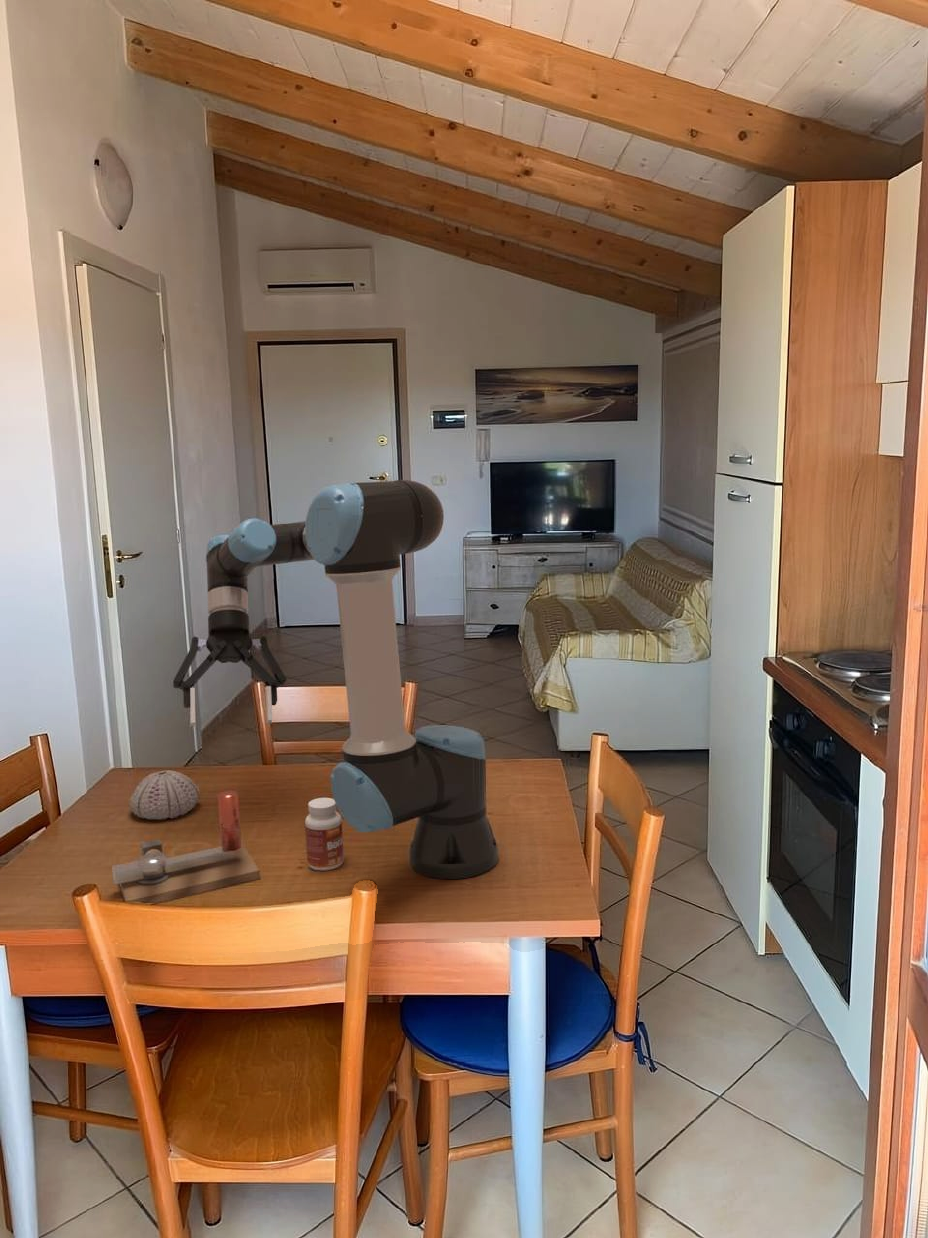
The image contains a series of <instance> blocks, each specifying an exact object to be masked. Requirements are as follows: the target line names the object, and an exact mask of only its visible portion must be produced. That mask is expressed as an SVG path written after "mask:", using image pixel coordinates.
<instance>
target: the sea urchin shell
mask: <svg viewBox="0 0 928 1238" xmlns="http://www.w3.org/2000/svg"><path fill="white" fill-rule="evenodd" d="M135 787H136V788H135V790H134V791H133V793H132V795H131V796H130V798H129V803H128V804H129V808H130V810H131V813H133V814H134V816H137V818H141V819H147V820H153V821H155V820H159V821H162V820H166V819H174V818H177V817H178V816H184V815H185V814H188V812H190V811H192V809H193V808H196V804H198V803H199V802H198V801H199V800H200V799H201V797H200V796H201V793H200V792H201V790H200V789H199V786H197V783H195V782H194V780H192V779H191V777H188V775H186V774H183V773H181V772H178V771H175V770H168V769H167V770H161V771H156V772H152V773H150V774H148V775H147V776H145V777H144V778H142V780H141V781H140V782H139V783H138V785H136V786H135Z"/></svg>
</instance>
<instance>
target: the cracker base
mask: <svg viewBox="0 0 928 1238" xmlns="http://www.w3.org/2000/svg"><path fill="white" fill-rule="evenodd" d="M140 845H141V856H143V855H145V854H148V853H154V852H159V853H163V846H162V845H163V844H162V842H161V839H160V838H156V839H153V840H147V841H142V842H140ZM241 845H242V846H241V848H240V849H238V850H235V851H234V858H230V859H226V860H221V861H217V862H212V863H208V864H203V865H199V866H194V867H190V868H185V869H181V870H177V871H172V872H168V873H165V874H164V875H162V876H160V877H157V878H152V879H144V878H143V879H139V880H134V881H130V882H125V883H121V884H119V887H121V888H120V890H121V895H122V897H123V900H124V902H125V901H126V902H141V903H155V904H159V903H163V902H167V901H173V900H176V899H180V898H184V897H188V896H193V895H197V894H201V893H206V892H209V891H214V890H218V889H221V888H226V887H231V886H235V885H240V884H243V883H247V882H252V881H256V880H260V879H261V872H260V871H261V870H260V869H259V867H258V865H256V863H255V861H254V860H253V858H252V857H251V855H250V853H249V852H248V850H247V849H246V847H245V845H244V844H243V843H241Z"/></svg>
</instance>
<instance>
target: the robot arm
mask: <svg viewBox="0 0 928 1238" xmlns="http://www.w3.org/2000/svg"><path fill="white" fill-rule="evenodd" d="M444 514H445V513H444V509H443V505H442V502H441V500H440V499H439V497H438V496H437V494H436V493H435V492H434V491H433V490H432V489H431V488H429V486H427V485H425V484H424V483H421V482H418V481H414V480H408V479H398V480H387V481H385V480H384V481H371V482H367V481H366V482H347V483H340V484H334V485H329V486H326V487H323V488H322V489H320V490H319V491H318V492H317V493H316V494H315V496H314V497H313V499H312V502H311V503H310V504H309V506H308V509H307V513H306V518H305V520H304V521H297V522H291V523H277V524H269V523H268V522H267V521H264V520H262V519H260V518H249V519H245V520H244V521H242V522H241V523H240V524H239V525H238V526H236V527H235V528H234V529H233V530H232V531H231V533H230V534H221V535H217V536H216V537H212V538H211V539H210V540H208V543H207V547H206V556H205V561H206V579H207V582H206V583H207V613H208V615H209V616H207V621H208V622H207V626H208V627H207V629H208V630H207V632H208V635H207V638H206V639H202V638H200V639H199V637H197V636H193V637H192V638H191V643H190V645H191V646H190V649H189V650H188V652H187V654H186V656H185V657H184V660H183V662H182V664H181V665H180V666H179V669H178V671H177V673H176V675H175V677H174V678H173V680H172V687H173V688H174V689H180V690H181V691H182V692H183V700H182V701H183V707H184V709H186V708H187V709H189V719H190V720H189V721H190V723H189V726H190V727H195V726H196V688H195V687H194V686H195V685H196V684H197V683H198V681H199V680H200V679H201V678H202V677H203V676H204V675H205V673H206V672H207V671H208V670H209V669H210V668H211V667H212V666H213V665H214V664H215V663H216V662H217V661H218V662H219V663H221V664H225V663H234V664H238V663H239V662H242V663H243V664H244V665H245V666H247V667H248V668H249V670H251V671H252V672H253V673H254V674H255V675H256V676H257V677H258V678H259V679H260V680H261V681H262V682H263V684H265V685H266V687H265V690H264V691H265V692H264V694H265V714H266V715H265V716H266V717H265V719H266V721H265V722H266V724H267V725H271V724H272V721H273V708H272V707H273V706H276V705H277V702H278V688H279V687H283V686H285V684H286V682H287V677H286V675H285V674H284V671H282V668H281V667H280V665H279V664H278V662H277V660H276V658H275V657H274V655H273V653H272V652H271V649H270V648H269V646H268V639H267V637H266V636H261V637H260V638H256V639H255V638H254V639H253V638H251V634H250V616H249V615H248V613H249V612H250V611H249V590H248V583H249V582H248V576H249V575H250V574H251V573H252V572H254V570H255V569H257V568H258V567H262V566H263V567H265V566H271V565H272V566H273V565H282V564H289V563H295V562H305V561H316V562H317V563H319V564H321V565H323V566H324V574H325V576H326V577H327V578H328V579H330V581H332V582H333V583H334V585H335V586H336V594H337V604H338V605H337V606H338V615H339V617H338V618H339V625H340V636H341V638H340V639H341V647H342V656H343V668H344V676H345V677H344V678H345V679H344V680H345V688H346V689H345V690H346V698H347V706H348V707H347V708H348V718H349V719H348V720H349V729H350V737H349V738H348V739H347V740H346V741H345V742H344V744H342V747H341V748H342V758H343V761H342V762H339V763H337V765H335V766H334V767H333V769H332V773H331V774H330V790H331V794H332V797H333V798H332V799H334V800H335V803H336V807H337V809H338V811H339V814H341V815H342V817H343V819H344V820H345V821H346V823H347V824H348V825H350V827H352V829H355V830H356V831H357V832H359V833H364V834H370V833H371V834H372V833H374V832H378V831H383V830H389V829H391V828H393V827H395V826H397V825H401V824H403V823H407V822H408V821H412V820H414V819H417V822H416V823H415V824H416V825H415V829H414V833H413V839H412V841H411V842H410V844H409V850H408V851H409V856H408V857H409V864H410V866H411V868H412V869H414V870H415V872H417V873H419V874H421V875H424V876H426V877H430V878H435V879H440V880H441V879H445V880H458V879H459V880H460V879H467V878H473V877H476V876H479V875H482V874H485V873H486V872H488V871H490V870H491V869H493V868H494V867H495V866H496V864H497V863H498V859H499V854H498V853H499V852H498V851H499V850H498V849H499V848H498V847H499V846H498V844H497V840H496V838H495V836H494V832H493V829H492V826H491V824H490V821H489V818H488V815H487V773H486V771H487V769H486V768H487V767H486V766H487V764H486V760H487V755H486V750H485V741H484V740H485V739H484V738H483V736H482V735H481V734H480V733H479V732H477V731H476V730H473V729H471V728H466V727H462V726H457V725H446V724H445V725H443V724H441V725H440V724H438V725H437V724H435V725H434V724H433V725H426V726H421V727H419V728H418V729H416V731H415V733H414V735H412V734H411V733H409V732H408V731H407V729H406V721H405V711H404V700H403V699H404V698H403V691H402V678H401V676H402V675H401V667H400V655H399V646H398V645H399V644H398V633H397V622H396V611H395V609H396V608H395V601H394V600H395V599H394V589H393V588H394V587H393V580H394V577H395V576H396V575H397V574H398V573H399V572H400V571H401V568H402V567H401V566H402V565H401V556H400V555H406V554H412V553H415V552H419V551H421V550H422V551H423V550H424V549H426V548H428V547H430V546H431V544H433V543H434V542H435V541H436V540H437V539H438V537H439V536H440V534H441V531H442V529H443V525H444V519H445V517H444ZM204 647H206V649H207V650H208V651H209V654H208V655H207V657H206V658H204V660H203V661H202V663H200V664H199V666H198V667H197V668H196V669H195V670H194V672H192V673H191V675H189V677H187V679H186V680H184V679H185V677H186V675H187V673H188V672H189V669H190V668H191V666H192V664H193V662H194V660H195V658H196V657H197V654H198V652H200V651H202V650H203V648H204ZM253 647H254V648H255V649H256V651H258V652H259V651H260V654H261V656H262V658H263V660H264V662H265V664H266V665H267V666H268V668H269V670H270V672H271V674H272V675H273V676H272V675H271V674H270V673H269V672H268V671H267V670H266V669H265V668H264V667H263V666H262V664H260V662H258V660H257V659H256V658H255V657H254V655H253V654H252V653H251V652H250V650H251V648H253Z"/></svg>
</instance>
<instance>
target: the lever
mask: <svg viewBox="0 0 928 1238" xmlns="http://www.w3.org/2000/svg"><path fill="white" fill-rule="evenodd" d="M217 802H218V813H219V814H218V817H219V826H220V827H219V828H220V837H221V839H220V840H221V846H217V847H213V848H209V849H208V848H207V849H203V850H199V851H194V852H190V853H185V854H181V855H175V856H170V857H167V856H166V854H165V853H163V852H162V853H159V852H154V853H148V854H145V855H143V856H142V855H141V856H139V857H138V858H137V860H134V861H130V862H125V863H120V864H116V865H112V866H111V867H112V868H111V869H112V877H113V881H114V884H115V885H116V886H117V885H120V884H121V883H125V882H130V881H134V880H139V879H143V878H144V879H152V878H157V877H160V876H162V875H164V874H165V873H168V872H172V871H177V870H181V869H185V868H190V867H194V866H199V865H203V864H208V863H212V862H217V861H221V860H226V859H230V858H234V851H235V850H238V849H240V848H241V846H242V845H241V844H242V833H241V822H240V811H239V808H240V807H239V797H238V792H237V791H236V790H224V791H221V792H219V793H218V794H217Z"/></svg>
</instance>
